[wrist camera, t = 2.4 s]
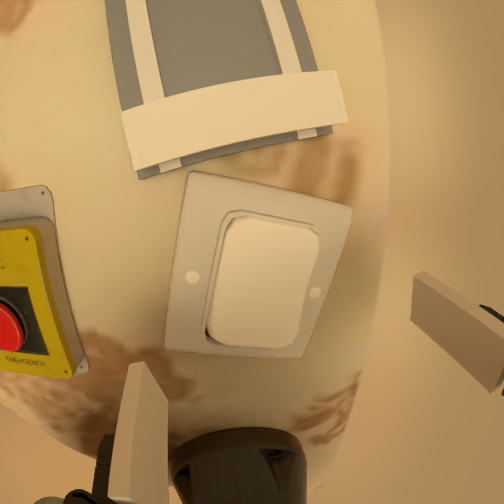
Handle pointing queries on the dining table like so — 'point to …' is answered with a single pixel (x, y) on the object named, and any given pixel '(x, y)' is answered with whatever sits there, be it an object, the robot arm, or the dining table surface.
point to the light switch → (251, 267)
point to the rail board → (215, 79)
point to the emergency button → (35, 290)
